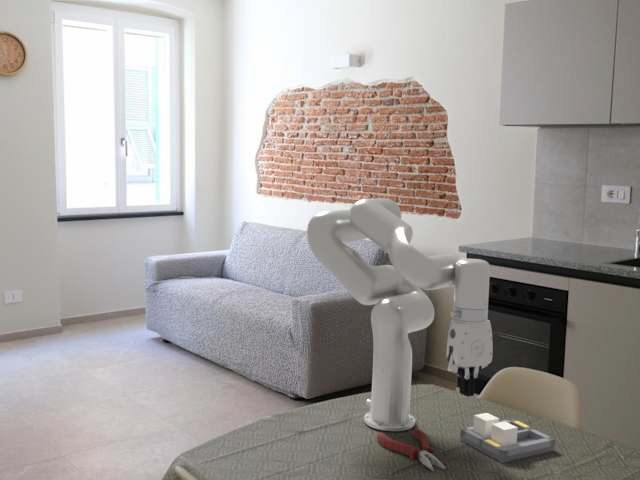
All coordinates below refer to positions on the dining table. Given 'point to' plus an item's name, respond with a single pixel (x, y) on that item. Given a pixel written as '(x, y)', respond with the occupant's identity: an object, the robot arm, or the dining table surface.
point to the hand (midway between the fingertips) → (466, 394)
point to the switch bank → (526, 445)
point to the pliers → (412, 449)
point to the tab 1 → (484, 424)
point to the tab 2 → (504, 434)
